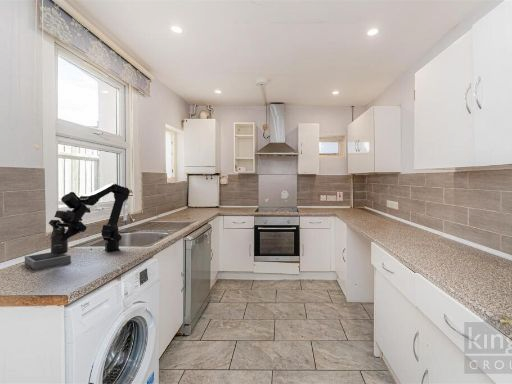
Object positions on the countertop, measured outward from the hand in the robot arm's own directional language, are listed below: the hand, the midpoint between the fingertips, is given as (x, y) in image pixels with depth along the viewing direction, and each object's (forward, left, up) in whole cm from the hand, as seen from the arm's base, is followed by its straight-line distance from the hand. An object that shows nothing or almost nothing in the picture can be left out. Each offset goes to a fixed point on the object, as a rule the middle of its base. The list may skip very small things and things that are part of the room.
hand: (56, 240), depth 133 cm
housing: (+1, -10, -13) cm, 16 cm away
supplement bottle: (-1, -1, -7) cm, 7 cm away
